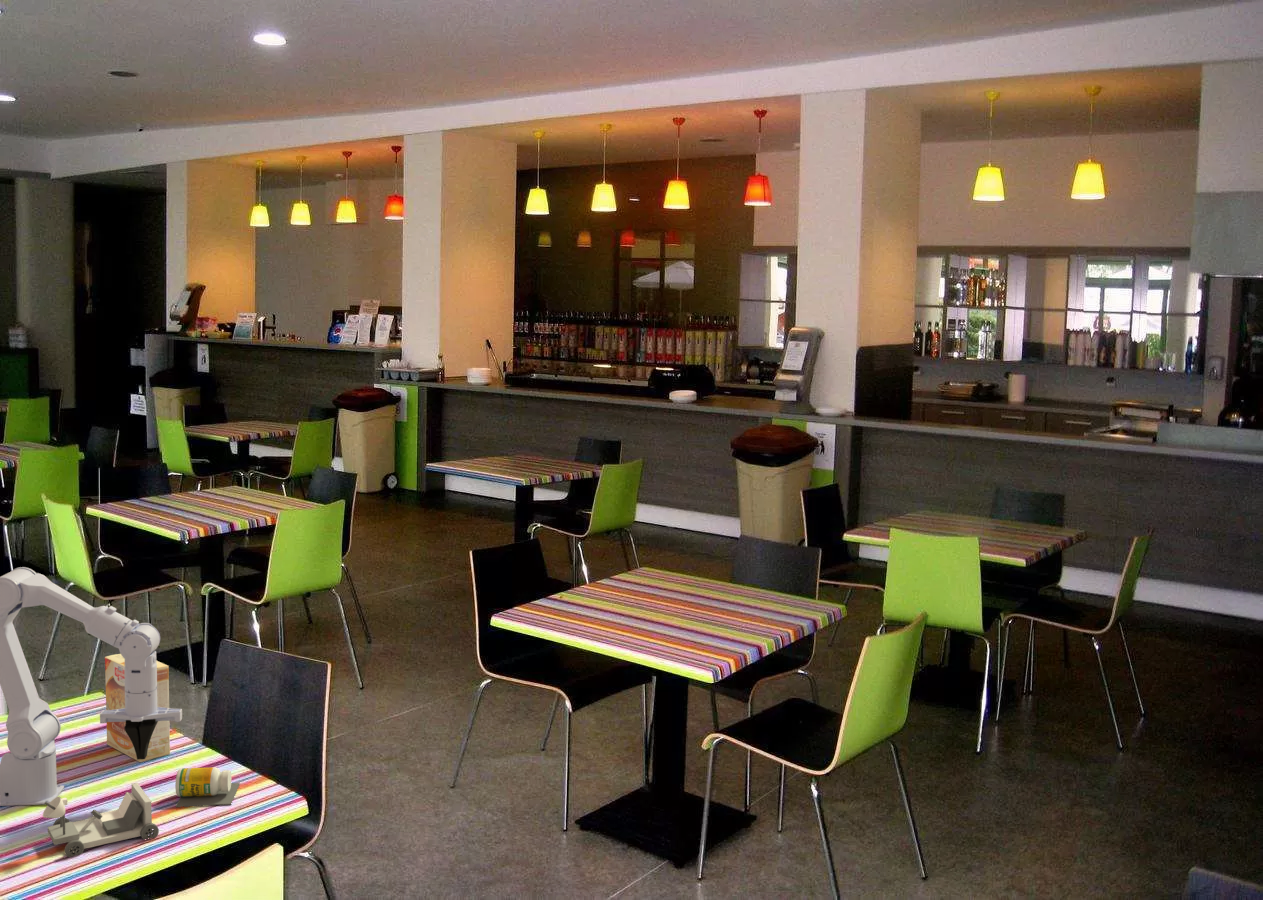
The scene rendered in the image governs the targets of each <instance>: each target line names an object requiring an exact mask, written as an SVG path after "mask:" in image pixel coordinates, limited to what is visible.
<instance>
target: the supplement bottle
mask: <svg viewBox="0 0 1263 900" xmlns="http://www.w3.org/2000/svg"><path fill="white" fill-rule="evenodd" d="M174 783H175V795H176V796H177V797H179V798H180V797H188V796H214V795H216V794H218V792H219V791H222V792H229V791H230V788H231V783H232V770H228V769H227V770H224V769H223V770H222V771H221V770H220V768H218V767H216V766H215V767H214V766H213V767H211V766H210V767H188V768H187V767H184V768H183V767H182V768H179V769H178V770H177V772H176V777H175V782H174Z"/></svg>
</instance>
